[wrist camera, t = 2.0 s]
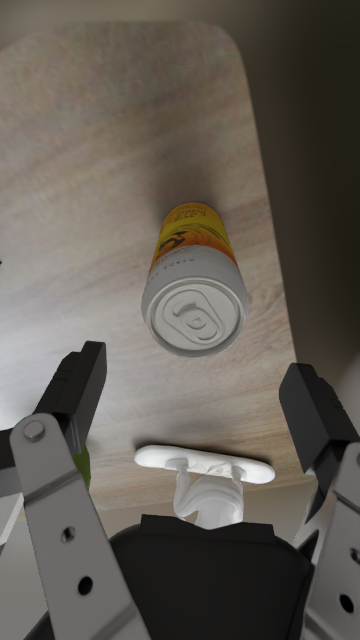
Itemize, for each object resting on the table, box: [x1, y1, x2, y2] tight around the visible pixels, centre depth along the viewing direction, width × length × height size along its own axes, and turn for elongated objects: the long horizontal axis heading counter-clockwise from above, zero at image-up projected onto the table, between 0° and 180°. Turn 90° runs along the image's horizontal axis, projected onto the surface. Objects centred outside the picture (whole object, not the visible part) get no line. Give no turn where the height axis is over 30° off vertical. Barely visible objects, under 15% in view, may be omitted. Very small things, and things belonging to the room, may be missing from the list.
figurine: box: [134, 445, 275, 530], centre depth 44 cm, size 26×13×17 cm, turn 76°
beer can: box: [141, 202, 249, 359], centre depth 21 cm, size 6×6×15 cm
